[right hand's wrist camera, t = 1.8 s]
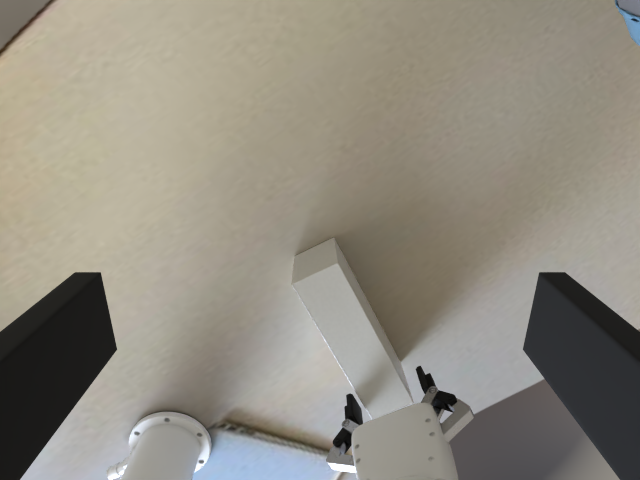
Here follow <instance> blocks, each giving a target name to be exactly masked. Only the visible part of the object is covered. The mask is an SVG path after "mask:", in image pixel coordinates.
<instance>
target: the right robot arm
mask: <svg viewBox="0 0 640 480" xmlns="http://www.w3.org/2000/svg"><path fill="white" fill-rule="evenodd" d="M615 4H616V8H618V10H619V12H620V13H621V14H622V15H623V17H624V20H625V22H626V25H627V28H628V30H629V33H630V36H631V38H632V39H633V40H634V41H635V42H636V43H637V45H639V46H640V0H615ZM116 350H117V347H116V342H115V338H114V333H113V328H112V324H111V319H110V314H109V309H108V305H107V300H106V295H105V291H104V286H103V281H102V276H101V272H75V273H74V274H72V275H71V276H70V277H69V278H67V279H66V280H65V281H64V282H62V283H61V284H60V285H59V286H57V287H56V288H55V289H54V290H52V291H51V292H50V293H49V294H47V295H46V296H45V297H44V298H42V299H41V300H40V301H39V302H37V303H36V304H35V305H34V306H32V307H31V308H30V309H28V310H27V311H26V312H25V313H23V314H22V315H21V316H20V317H18V318H17V319H16V320H15V321H13V322H12V323H11V324H10V325H8V326H7V327H6V328H5V329H3V330H2V331H1V332H0V480H20V479H21V477H22V476H23V475H24V473H25V472H26V471H27V469H28V468H29V467H30V465H31V464H32V463H33V461H34V460H35V459H36V457H37V456H38V455H39V453H40V452H41V451H42V449H43V448H44V447H45V445H46V444H47V443H48V441H49V440H50V439H51V437H52V436H53V435H54V433H55V432H56V431H57V429H58V428H59V426H60V425H61V424H62V422H63V421H64V420H65V418H66V417H67V416H68V414H69V413H70V412H71V410H72V409H73V408H74V406H75V405H76V404H77V402H78V401H79V400H80V398H81V397H82V396H83V394H84V393H85V392H86V390H87V389H88V388H89V386H90V385H91V384H92V382H93V381H94V380H95V378H96V377H97V376H98V374H99V373H100V372H101V370H102V369H103V368H104V366H105V365H106V364H107V362H108V361H109V360H110V358H111V357H112V355H113V354H114V353H115V351H116ZM523 350H524V351H525V353H526V354H527V355H528V357H529V358H530V360H531V361H532V362H533V364H534V365H535V366H536V368H537V369H538V370H539V372H540V373H541V374H542V376H543V377H544V378H545V380H546V381H547V382H548V384H549V385H550V386H551V388H552V389H553V390H554V392H555V393H556V394H557V396H558V397H559V398H560V400H561V401H562V402H563V404H564V405H565V406H566V408H567V409H568V410H569V412H570V413H571V414H572V416H573V417H574V418H575V420H576V421H577V422H578V424H579V425H580V426H581V428H582V429H583V430H584V432H585V433H586V434H587V436H588V437H589V439H590V440H591V441H592V443H593V444H594V445H595V446H596V448H597V449H598V451H599V452H600V453H601V455H602V456H603V457H604V459H605V460H606V461H607V463H608V464H609V465H610V467H611V468H612V469H613V471H614V472H615V473H616V475H617V476H618V477H619V479H620V480H640V332H639V331H638V330H637V329H635V328H634V327H633V326H632V325H630V324H629V323H628V322H627V321H625V320H624V319H623V318H622V317H620V316H619V315H618V314H617V313H615V312H614V311H613V310H612V309H610V308H609V307H608V306H606V305H605V304H604V303H603V302H601V301H600V300H599V299H598V298H596V297H595V296H594V295H593V294H591V293H590V292H589V291H588V290H586V289H585V288H584V287H583V286H581V285H580V284H579V283H578V282H576V281H575V280H574V279H573V278H571V277H570V276H569V275H568V274H566V273H565V272H539V276H538V281H537V286H536V291H535V295H534V300H533V305H532V309H531V314H530V319H529V324H528V328H527V333H526V338H525V342H524V347H523Z"/></svg>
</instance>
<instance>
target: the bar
mask: <svg viewBox="0 0 640 480" xmlns="http://www.w3.org/2000/svg"><path fill="white" fill-rule="evenodd" d="M292 286H293V288H294V289H295V291H296V293H297V295H298V296H299V298H300V300H301V301H302V303H303V305H304V306H305V308H306V310H307V311H308V313H309V315H310V316H311V318H312V320H313V321H314V323H315V325H316V326H317V328H318V330H319V331H320V333H321V335H322V336H323V338H324V340H325V341H326V343H327V345H328V346H329V348H330V350H331V351H332V353H333V355H334V357H335V358H336V360H337V362H338V363H339V365H340V367H341V368H342V370H343V372H344V373H345V375H346V377H347V378H348V380H349V382H350V383H351V385H352V387H353V388H354V390H355V392H356V393H357V395H358V397H359V398H360V400H361V402H362V403H363V405H364V407H365V408H366V410H367V412H368V414H369V415H370V417H371V419H372V420H373V419H375V418H378V417H380V416H383V415H385V414H388V413H390V412H392V411H395V410H397V409H400V408H402V407H405V406H407V405H410V404H412V403H413V399H412V396H411V393H410V390H409V387H408V384H407V381H406V378H405V375H404V371H403V368H402V365H401V362H400V360H399V359H398V357H397V355H396V353H395V351H394V349H393V347H392V345H391V343H390V342H389V340H388V338H387V336H386V334H385V332H384V330H383V328H382V327H381V325H380V323H379V321H378V319H377V317H376V315H375V313H374V311H373V310H372V308H371V306H370V304H369V302H368V300H367V298H366V296H365V295H364V293H363V291H362V289H361V287H360V285H359V283H358V281H357V279H356V278H355V276H354V274H353V272H352V270H351V268H350V266H349V264H348V263H347V261H346V259H345V257H344V255H343V253H342V251H341V249H340V247H339V246H338V244H337V242H336V240H335V238H334V237H333V238H331V239H329V240H327V241H325V242H323V243H321V244H319V245H317V246H315V247H312V248H310V249H308V250H306V251H304V252H302V253H300V254H298V255H296V256H294V264H293V275H292Z"/></svg>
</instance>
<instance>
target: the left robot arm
mask: <svg viewBox="0 0 640 480" xmlns="http://www.w3.org/2000/svg"><path fill="white" fill-rule="evenodd" d="M416 371H417V375H418V378H419V381H420V384H421V387H422V389H423V391H424V393H425V396H424V398H423V400H422V401H421V403H417V404H414V405H411V406H408V407H405V408H402V409H399V410H397V411H394V412H391V413H389V414H386V415H384V416H381V417H378V418H376V419H373V420H371V421H368V422H366V423H364V424H363V420H362V412H361V408H360V406H359V404H358V403H357V401H356V399H355V398H354V396H353V395H352V394H348V395H346V397H347V406H345V420H344V421H343V422H342V427H343V428H342V429H341V431H340V432H339V433H338V435H337V436H336V437H335V439H334V440H333V444H334V445H333V447H331V450H330V452H329V454H328V457H327V459H326V462H327V463H328V464H329V466H330V467H331V469H332V470H339V471H346V472H353V473H356V476H357V480H458V475H457V471H456V466H455V462H454V458H453V454H452V450H451V447H450V443H449V441H450V440H451V439H452V438H453V437H454V436H455V435H456V434H457V433H458V432H459V431H460V430H462V429H463V428H464V427H465V426H466V425H467V424H468V423H469V422H470V421H471V420H472V419H473V418H474V414H473V412H472V410H471V408H470V406H468V405H467V404H465V403H464V402H463V401H461V400H460V399H457V398H456V397H455V395H453V394H450V393H446V392H443V391H439V390H438V388H437V387H436V385H435V383H434V380H433V378H432V376H431V374H430V373H429V374H426V375H425V373H424V371H423V369H422V367H421V366H418V367H417V368H416ZM432 406H433V407H432ZM444 410H447V411H450V412H453V414H451V415H450V416H449V417H448V418H447V419H446V420H445V421H444V422H443V423H440V422H439V420H440V418H441V416H442V414H443V412H444ZM351 445H352V454H353V456H351V455H344V454H345V453H346V452H347V451H348V449H349V448H350V446H351ZM211 446H212V443H211V438H210V436H209V433H208V432H207V430H206V429H205V427H204V426H203V425H202V424H200V423H199V422H198V421H196V420H195V419H194V418H192V417H189V416H187V415H184V414H181V413H176V412H158V413H154V414H151V415H148V416H146V417H144V418H143V419H141V420H140V421H139V422H138V423H137V424H136V425H135V427H134V428H133V430H132V432H131V434H130V438H129V449H130V454H129V457H126V458H125V459H124V460H123V462H121V463H117V464H115V465H113V466H110V467H109V468H108V469H107V477H108V478H109V479H110V480H112V479H115V478H117V477H120V476H122V477H121V479H120V480H192V478H193V475H194V472H196V471H198V470H199V469H200V468H202V467H203V466H204V465H205V463H206V462H207V460H208V458H209V456H210V452H211Z"/></svg>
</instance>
